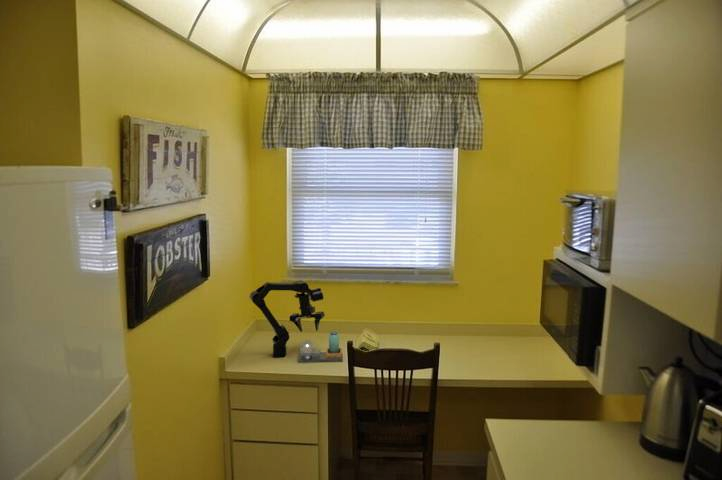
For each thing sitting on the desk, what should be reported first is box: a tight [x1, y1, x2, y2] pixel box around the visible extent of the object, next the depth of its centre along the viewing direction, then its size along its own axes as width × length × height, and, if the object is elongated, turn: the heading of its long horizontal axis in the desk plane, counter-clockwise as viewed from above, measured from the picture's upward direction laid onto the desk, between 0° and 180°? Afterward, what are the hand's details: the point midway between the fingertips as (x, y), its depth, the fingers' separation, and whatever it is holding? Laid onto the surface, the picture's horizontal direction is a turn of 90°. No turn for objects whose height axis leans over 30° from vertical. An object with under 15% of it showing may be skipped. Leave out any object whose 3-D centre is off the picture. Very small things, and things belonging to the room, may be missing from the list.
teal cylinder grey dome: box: [328, 331, 340, 353], centre depth 273 cm, size 5×5×12 cm
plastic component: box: [355, 328, 379, 351], centre depth 293 cm, size 20×7×10 cm
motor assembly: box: [297, 339, 344, 363], centre depth 272 cm, size 23×11×8 cm, turn 92°
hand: (309, 331), depth 281 cm, fingers open, 9 cm apart
